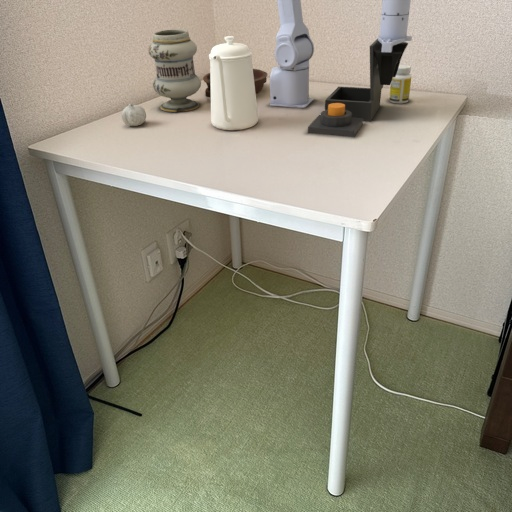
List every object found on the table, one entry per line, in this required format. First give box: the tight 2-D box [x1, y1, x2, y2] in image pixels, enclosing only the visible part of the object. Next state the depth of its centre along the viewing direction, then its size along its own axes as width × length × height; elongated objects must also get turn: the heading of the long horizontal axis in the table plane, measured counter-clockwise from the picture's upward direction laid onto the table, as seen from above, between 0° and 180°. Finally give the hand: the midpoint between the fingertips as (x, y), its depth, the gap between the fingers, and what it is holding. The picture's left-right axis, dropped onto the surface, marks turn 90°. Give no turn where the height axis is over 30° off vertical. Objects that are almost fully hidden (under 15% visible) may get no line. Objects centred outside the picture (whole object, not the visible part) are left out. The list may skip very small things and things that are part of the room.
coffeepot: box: [208, 35, 259, 131], centre depth 108 cm, size 11×25×19 cm, turn 168°
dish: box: [202, 68, 268, 99], centre depth 135 cm, size 18×22×5 cm
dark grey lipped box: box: [324, 86, 383, 123], centre depth 116 cm, size 11×13×4 cm
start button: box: [328, 103, 345, 116], centre depth 105 cm, size 4×4×2 cm
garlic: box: [121, 102, 147, 127], centre depth 114 cm, size 6×5×5 cm
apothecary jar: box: [148, 28, 202, 113], centre depth 122 cm, size 12×12×18 cm
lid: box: [369, 38, 384, 101], centre depth 109 cm, size 11×13×4 cm
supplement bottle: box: [388, 64, 412, 105], centre depth 121 cm, size 5×5×8 cm
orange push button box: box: [307, 109, 364, 138], centre depth 106 cm, size 10×9×4 cm
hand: (388, 80), depth 110 cm, fingers open, 7 cm apart
